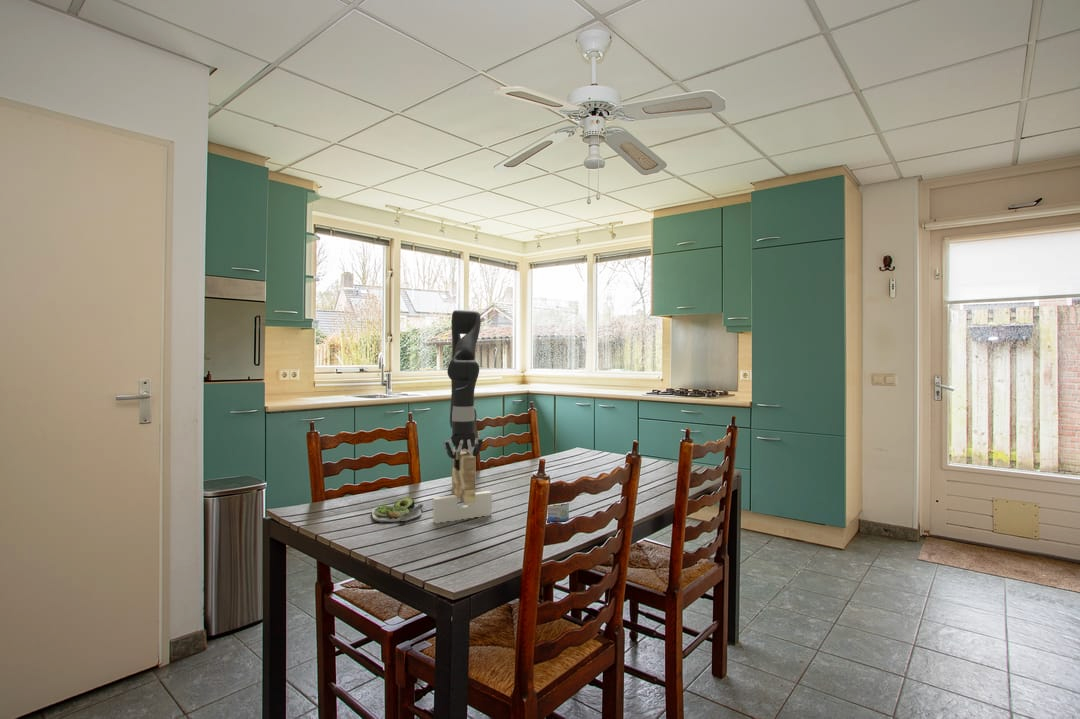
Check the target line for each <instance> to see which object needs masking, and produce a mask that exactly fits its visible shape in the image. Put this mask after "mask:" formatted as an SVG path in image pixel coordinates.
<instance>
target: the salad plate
mask: <svg viewBox="0 0 1080 719" xmlns="http://www.w3.org/2000/svg"><path fill="white" fill-rule="evenodd" d="M423 506H424V504H419V505H418V504H415V501H414V499H413V498H412V497H402V498H399V499H397V501H395V503H394V504H392V505H384V504H383V505H378V506H376V507H374V508H372V509H371V516H372V519H373V520H374V521H376V522H378V521H379V522H378V523H382V522H394V523H398V522H397V521H405V522H408V520H409V521H412V520H414V518H415V519H417V518H419V517H420V516H421V515H422V510H421V509H422V508H423ZM377 516H378V518H377ZM380 516H390V517H391V518H395V519H391V518H390V517H389V518H390V519H385V518H379V517H380ZM411 519H412V520H411Z"/></svg>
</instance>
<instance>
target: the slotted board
mask: <svg viewBox="0 0 1080 719" xmlns="http://www.w3.org/2000/svg"><path fill="white" fill-rule="evenodd" d="M492 495H493V494H492V491H491V490H484V491H477V492H476V491H475V503H467V504H464V505H458V498H459V497H457V496H456V495H453V494H452V495H445V496H437V497H433V498H432V499H433V500H432V502H433V503H432V507H433V508H432V513H433V514H432V519H433V520H432V521H434V522H435V523H436V524H441V523H440V522H443V523H448V522H447V521H450V522H456V521H455V520H457V521H462V520H461V519H464V520H468V519H467V518H471V519H475V518H474V517H478V518H483V517H482V516H485V517H491V516H490V515H492V513H493V512H492V511H493V510H492V509H493V503H492V501H493V500H492V499H493V496H492ZM434 522H433V523H434ZM435 523H434V524H435Z"/></svg>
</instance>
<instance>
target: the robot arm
mask: <svg viewBox="0 0 1080 719" xmlns="http://www.w3.org/2000/svg"><path fill="white" fill-rule="evenodd" d="M481 320H482V319H481V314H480V312H479V311H477V310H470V309H469V310H467V309H464V310H463V309H455V310H453V312H452V314H451V343H452V344H451V345H452V352H451V354H452V355H451V360H450V362H449V363H448V366H447V376H448V378H449V379H450V380H451V381H450V382H451V384H450V385H451V397H450V398H451V400H450V409H449V410H450V411H449V413H450V414H449V425H450V428H451V437H450V439H448V440H444V441H443V442H442V443H443V446H444V448H445V452H446V454H447V456H448V458H450V459H452V458H453V459H454V468H455V469H456V470H457V471H459V456H460V453H461V450H463V451H465V452H467V453H468V454H470V455H472V456H474V457H475V482H476V481H477V480H476V478H477V477H476V461H477V460H476V457H477V456H479V454H480V450H481V448H482V446H483V443H484V442H483V441H484V440H483V439H482V438H480V437H476V435H477V433H476V431H477V430H476V429H477V410H476V408H475V388H476V384H477V382H478V381H477V380H478V379H479V378H478V377H479V373H480V365H479V363H478V362H477V361H476V360H475V358H476V347H477V342H478V338H479V334H480V331H481V322H482V321H481ZM461 335H463V336H462V337H461ZM452 444H453V445H452ZM452 446H453V449H452V448H451V447H452ZM452 451H454V455H453V452H452Z"/></svg>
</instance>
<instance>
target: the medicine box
mask: <svg viewBox="0 0 1080 719" xmlns="http://www.w3.org/2000/svg"><path fill="white" fill-rule="evenodd" d="M569 509H570V502H569V503H567V504H561V505H553V506H549V507H548V520H547V522H546V523H553V522H552V521H559V523H560V522H568V521H567V520H570V519H569V518H570V515H569V513H570V510H569Z"/></svg>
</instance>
